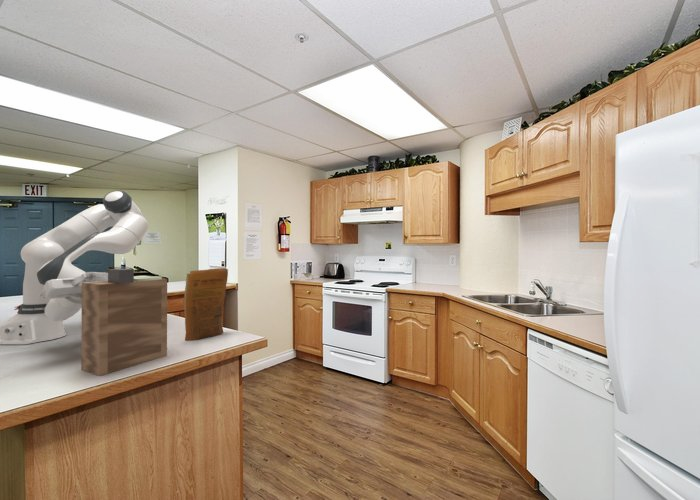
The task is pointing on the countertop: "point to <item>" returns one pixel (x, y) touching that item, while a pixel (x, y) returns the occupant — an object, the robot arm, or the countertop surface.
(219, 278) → the pancake mix bag
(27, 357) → the countertop surface
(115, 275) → the grey metal bar
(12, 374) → the countertop surface
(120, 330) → the brown wooden box
